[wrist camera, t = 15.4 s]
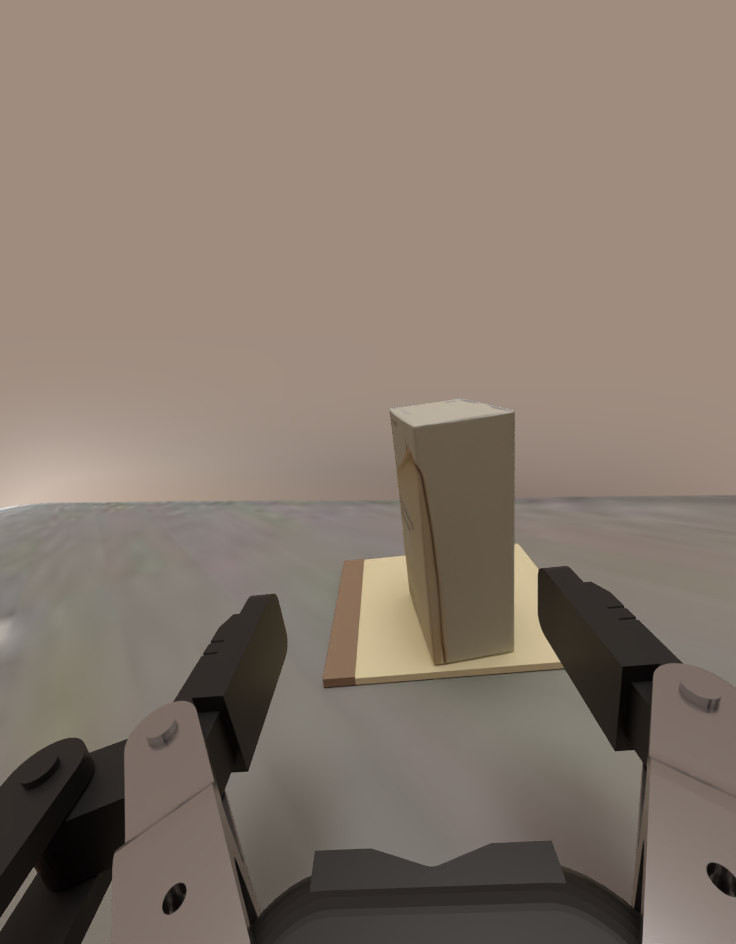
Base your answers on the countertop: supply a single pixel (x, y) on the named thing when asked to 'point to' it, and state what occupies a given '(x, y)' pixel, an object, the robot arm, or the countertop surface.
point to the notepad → (418, 629)
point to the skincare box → (458, 523)
